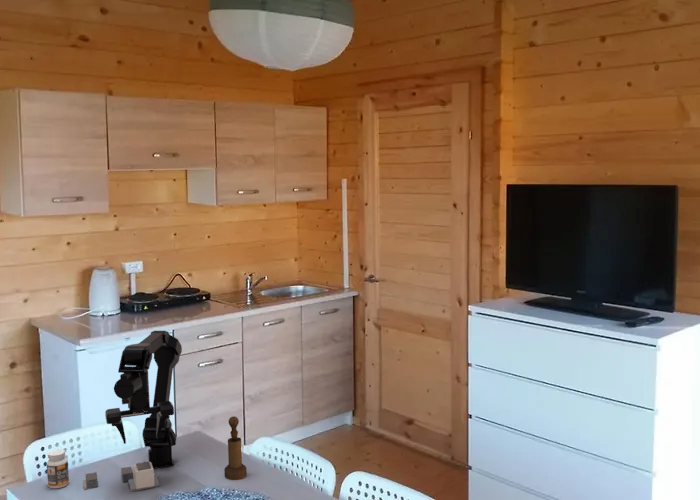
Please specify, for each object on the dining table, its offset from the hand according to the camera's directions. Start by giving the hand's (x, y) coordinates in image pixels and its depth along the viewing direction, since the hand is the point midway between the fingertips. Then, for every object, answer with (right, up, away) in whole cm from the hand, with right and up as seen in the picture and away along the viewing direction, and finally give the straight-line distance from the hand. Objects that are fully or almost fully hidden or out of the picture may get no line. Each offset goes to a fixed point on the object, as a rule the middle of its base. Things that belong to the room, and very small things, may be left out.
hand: (141, 440), depth 211 cm
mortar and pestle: (+27, -12, +6) cm, 30 cm away
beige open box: (+1, -12, 0) cm, 12 cm away
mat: (0, -13, +1) cm, 13 cm away
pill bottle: (-25, -14, +2) cm, 28 cm away
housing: (-10, -13, +3) cm, 17 cm away
